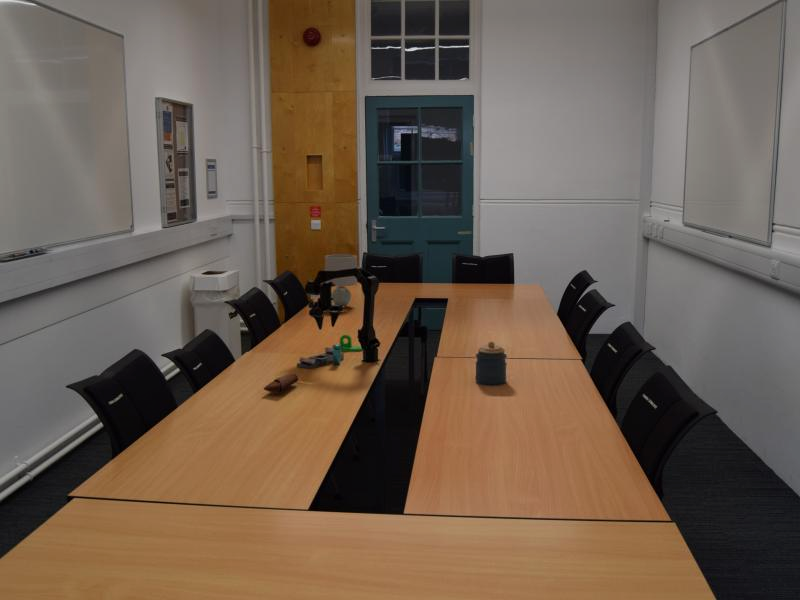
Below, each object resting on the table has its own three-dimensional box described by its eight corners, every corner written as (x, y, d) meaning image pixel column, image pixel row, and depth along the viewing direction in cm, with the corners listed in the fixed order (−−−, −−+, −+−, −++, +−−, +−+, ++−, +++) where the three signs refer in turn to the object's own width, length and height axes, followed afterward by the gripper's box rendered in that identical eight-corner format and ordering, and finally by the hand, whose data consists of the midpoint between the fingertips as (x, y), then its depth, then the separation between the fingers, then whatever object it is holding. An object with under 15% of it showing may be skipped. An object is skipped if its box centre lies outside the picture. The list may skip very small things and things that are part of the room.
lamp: (362, 311, 518) (362, 256, 513) (334, 314, 507) (334, 258, 502) (347, 307, 535) (347, 253, 529) (320, 309, 524) (319, 255, 519)
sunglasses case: (279, 378, 340) (288, 366, 338) (292, 389, 340) (300, 377, 338) (262, 389, 323) (271, 377, 321) (275, 400, 322) (284, 388, 321)
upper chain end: (343, 359, 382) (343, 348, 382) (321, 365, 369) (321, 354, 369) (330, 357, 387) (330, 346, 386) (308, 363, 374) (308, 352, 373)
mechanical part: (338, 352, 399) (338, 336, 397) (340, 349, 404) (340, 334, 403) (362, 353, 397) (362, 337, 396) (364, 350, 403) (364, 334, 402)
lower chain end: (332, 362, 376) (332, 354, 375) (310, 369, 363) (310, 360, 362) (319, 360, 380) (319, 352, 380) (296, 366, 367) (296, 358, 367)
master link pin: (343, 364, 372) (342, 345, 371) (337, 365, 369) (337, 346, 368) (336, 363, 375) (336, 344, 373) (330, 364, 371) (330, 345, 370)
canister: (474, 386, 334) (474, 344, 331) (475, 378, 346) (476, 338, 344) (506, 387, 332) (507, 345, 329) (506, 379, 345) (507, 338, 342)
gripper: (325, 292, 398) (326, 323, 400) (299, 297, 383) (300, 329, 385) (343, 293, 392) (344, 325, 394) (317, 298, 377) (318, 331, 379)
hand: (326, 328), depth 388 cm, fingers open, 9 cm apart
